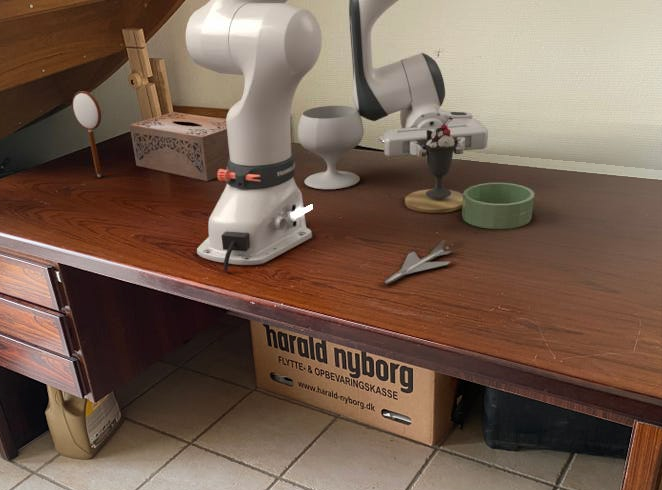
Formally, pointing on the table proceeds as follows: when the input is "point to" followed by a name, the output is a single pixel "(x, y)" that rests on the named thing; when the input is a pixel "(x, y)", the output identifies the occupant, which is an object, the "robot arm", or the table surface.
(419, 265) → the toy airplane
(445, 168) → the sundae
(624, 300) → the table surface
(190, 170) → the tissue box cover
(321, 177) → the chalice
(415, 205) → the trivet
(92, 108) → the magnifying glass
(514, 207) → the green shallow round dish
